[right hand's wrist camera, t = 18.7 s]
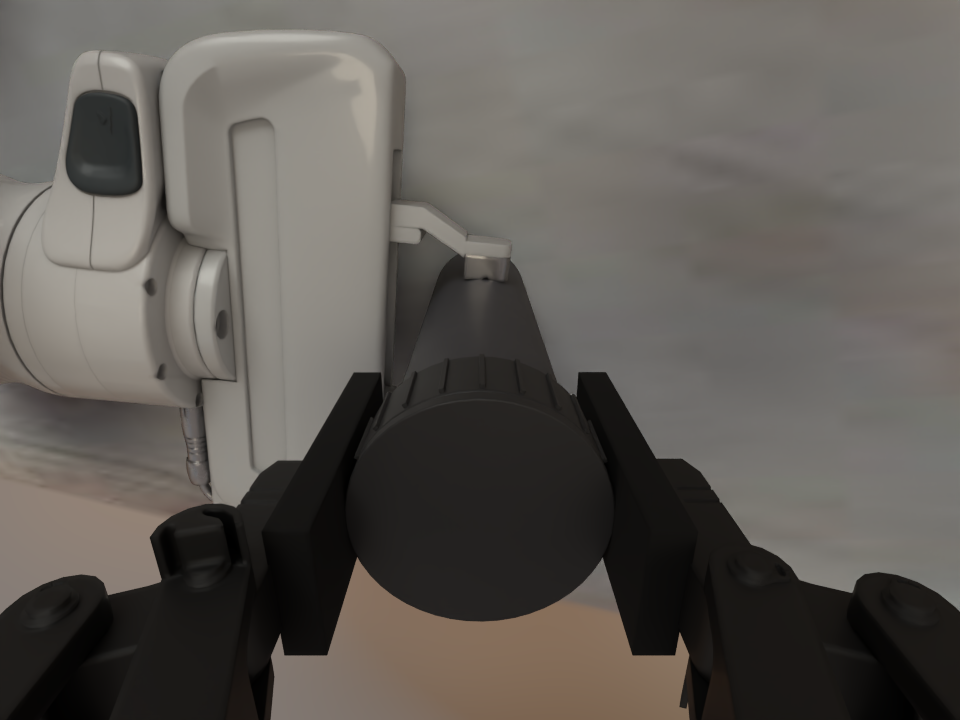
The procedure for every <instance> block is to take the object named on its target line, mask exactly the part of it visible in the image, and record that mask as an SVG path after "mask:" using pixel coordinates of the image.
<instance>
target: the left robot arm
mask: <svg viewBox="0 0 960 720" xmlns="http://www.w3.org/2000/svg"><path fill="white" fill-rule="evenodd" d="M405 93H406V78H405V74H404V72H403V70H402V69H401V68H400V66H399V65H398V63H397V62H396V60H395V59H394V58H393V56H392V55H391V54H390V53H389V52H388V50H386V49H385V48H384V47H383V46H382V45H381V44H380V43H379V42H378V41H376V40H374V39H373V38H370V37H368V36H365V35H360V34H355V33H347V32H339V31H322V30H296V29H278V30H250V31H235V32H224V33H216V34H211V35H207V36H203V37H200V38H197V39H194V40H192V41H190V42H188V43H187V44H185V45H184V46H182V47H181V48H180V49H178V50H177V51H176V52H175V53H174V54H173V56H172V57H171V58H170V60H166V59H162V58H158V57H154V56H149V55H143V54H137V53H130V52H121V51H102V50H93V51H87V52H84V53H82V54H81V55H80V56H79V57H78V58H77V59H76V61H75V63H74V65H73V68H72V72H71V76H70V82H69V88H68V96H67V104H66V112H65V119H64V126H63V133H62V139H61V145H60V151H59V156H58V161H57V167H56V172H55V176H54V180H53V181H50V182H43V183H33V184H31V183H23V182H19V181H16V180H14V179H11V178H9V177H7V176H4V175H2V174H0V385H1V384H6V383H14V382H17V383H23V384H26V385H29V386H31V387H34V388H36V389H39V390H41V391H44V392H47V393H50V394H54V395H59V396H65V397H71V398H85V399H95V400H106V401H117V402H128V403H137V404H148V405H159V406H170V407H179V408H180V416H181V425H182V430H183V435H184V438H185V442H186V445H187V453H188V457H187V460H186V466H187V473H188V476H189V479H190V481H191V483H192V484H194V485H199V486H200V489H201V490H202V492H203V493H204V495H205V496H206V497H207V498H208V499H209V500H210V501H212V502H213V504H220V503H222V504H226V505H230V506H234V507H235V508H236V507H237V506H238V504H241V500H242V498H243V497H244V495H245V494H246V493H247V492H249V488H250V487H251V485H252V484H253V482H254V481H255V480H256V478H257V477H258V475H259V474H260V473H261V472H262V471H264V470H265V469H267V468H268V467H269V466H271V465H272V464H274V463H275V462H276V461H278V460H303V459H304V457H305V455H306V454H307V452H308V450H309V448H310V447H311V445H312V443H313V442H314V440H315V438H316V436H317V435H318V433H319V431H320V430H321V428H322V426H323V424H324V423H325V421H326V419H327V417H328V416H329V414H330V412H331V411H332V409H333V407H334V405H335V404H336V402H337V400H338V399H339V397H340V395H341V393H342V392H343V390H344V388H345V386H346V385H347V383H348V381H349V380H350V378H351V376H352V374H353V373H354V372H381V378H382V391H383V401H384V398H385V396H386V394H387V392H388V391H389V392H391V393H392V392H393V391H394V390H395V389H396V388H397V387H395V386H392V379H393V358H394V336H395V314H396V292H397V270H398V248H399V243H409V244H418V243H419V242H420V241H421V240H422V239H423V237H424V236H425V234H426V232H427V233H429V234H430V235H432V236H433V237H435V238H436V239H438V240H439V241H440V242H442V243H443V244H445V245H446V246H448V247H449V248H451V249H452V250H453V251H455V252H456V253H458V254H459V255H461V256H462V257H464V256H465V264H464V278H465V279H474V280H481V279H483V278H485V277H487V278H488V279H489V280H491V281H495V282H505V281H507V279H508V272H509V265H510V258H511V250H512V243H511V241H510V240H507V239H503V238H495V237H485V236H476V235H467V231H466V230H465V229H463V228H462V227H461V226H459V225H458V224H457V223H455V222H454V221H453V220H451V219H450V218H449V217H447V216H446V215H444V214H443V213H442V212H440V211H439V210H438V209H436V208H435V207H434V206H432V205H431V204H430V203H428V202H419V201H409V200H401V182H402V160H403V138H404V116H405ZM210 482H211V487H210V485H209V483H210Z"/></svg>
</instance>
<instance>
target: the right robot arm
mask: <svg viewBox="0 0 960 720" xmlns="http://www.w3.org/2000/svg"><path fill="white" fill-rule="evenodd" d="M577 400H578V403H579V405H580V408H581V410H582V412H583V414H584V416H585V418H586V420H587V421H589V420H591V423H592V425H593V427H594V430H595V432H596V435H597V437H598V439H599V442H600V444H601V446H602V449H603V451H604V454H605V456H606V458H607V461H608V462H605V463H604V464H605V467H606V469H607V472H608V474H609V477H610V480H611V483H612V487H613V491H614V498H615V513H614V522H613V531H612V535H611V538H610V541H609V544H608V547H607V549H606V551H605V553H604V555H603V560H604V563H605V566H606V570H607V573H608V576H609V580H610V583H611V586H612V589H613V593H614V596H615V599H616V602H617V606H618V609H619V612H620V616H621V619H622V622H623V625H624V629H625V632H626V635H627V638H628V642H629V645H630V648H631V652H632V655H675V653H676V648H677V642H678V637H679V632H680V633H681V636H682V638H683V641H684V643H685V645H686V648H687V650H688V653H689V660H688V665H687V670H686V675H685V680H684V685H683V690H682V695H681V701H680V707H682V708H687V703H688V706H689V718H690V720H960V612H959V611H958V610H957V609H956V608H955V607H954V606H953V605H952V604H951V603H949V602H948V601H947V600H946V599H944V598H943V597H942V596H941V595H939V594H938V593H936V592H935V591H933V590H931V589H929V588H927V587H925V586H924V585H922V584H920V583H918V582H915V581H913V580H910V579H907V578H904V577H901V576H898V575H893V574H887V573H880V572H877V573H870V574H864V575H863V576H862V577H861V578H859V579H858V580H857V581H856V584H855V587H854V590H853V593H849V592H845V591H840V590H836V589H832V588H827V587H823V586H819V585H814V584H810V583H807V582H804V581H800V580H799V579H798V578H797V576H796V574H795V573H794V571H793V570H792V568H791V567H790V566H789V565H788V564H786V563H785V562H784V561H783V560H782V559H781V558H779V557H778V556H776V555H774V554H773V553H771V552H769V551H767V550H765V549H763V548H760V547H757V546H753V545H751V544H750V543H749V541H748V540H747V538H746V537H745V535H744V534H743V533H742V531H741V530H740V528H739V527H738V525H737V524H736V523H735V521H734V520H733V518H732V517H731V515H730V514H729V512H728V511H727V510H726V508H725V507H724V505H723V504H722V503H720V502H719V498H718V497H717V495H716V494H715V492H714V491H713V490H711V487H710V485H709V484H708V482H707V481H706V479H705V478H704V477H703V475H702V474H701V472H700V471H698V470H697V469H696V468H694V467H693V466H691V465H690V464H689V463H687V462H686V461H684V460H683V459H656V458H655V456H654V454H653V453H652V451H651V449H650V447H649V446H648V444H647V442H646V440H645V439H644V437H643V435H642V434H641V432H640V430H639V428H638V427H637V425H636V423H635V422H634V420H633V418H632V416H631V415H630V413H629V411H628V409H627V408H626V406H625V404H624V403H623V401H622V399H621V397H620V396H619V394H618V392H617V391H616V389H615V387H614V385H613V384H612V382H611V380H610V378H609V377H608V375H607V373H606V372H579V373H578V386H577ZM382 403H383V391H382V378H381V372H354V373H353V374H352V376H351V378H350V380H349V381H348V383H347V385H346V386H345V388H344V390H343V392H342V393H341V395H340V397H339V399H338V400H337V402H336V404H335V405H334V407H333V409H332V411H331V412H330V414H329V416H328V417H327V419H326V421H325V423H324V424H323V426H322V428H321V430H320V431H319V433H318V435H317V436H316V438H315V440H314V442H313V443H312V445H311V447H310V448H309V450H308V452H307V454H306V455H305V457H304V459H303V460H278V461H276V462H275V463H274V464H272V465H271V466H269V467H268V468H267V469H265V470H264V471H262V472H261V473H260V474H259V475H258V477H257V478H256V480H255V481H254V482H253V484H252V485H251V487H250V488H249V492H247V493H246V494H245V495H244V497H243V498H242V500H241V504H238V506H237V507H236V508H235V507H234V506H230V505H226V504H222V503H220V504H205V505H201V506H197V507H193V508H189V509H186V510H184V511H182V512H180V513H178V514H176V515H173V516H171V517H170V518H169V519H167V520H166V521H165V522H163V523H162V524H161V525H159V526H158V527H157V528H156V530H155V531H154V532H153V534H152V535H151V536H150V540H151V544H152V547H153V550H154V554H155V557H156V561H157V564H158V568H159V571H160V575H161V578H162V580H161V582H160V583H157V584H153V585H150V586H146V587H142V588H138V589H134V590H129V591H125V592H120V593H116V594H112V595H108V594H107V591H106V588H105V586H104V583H103V582H102V581H101V580H99V579H98V578H97V577H96V576H89V575H75V576H68V577H63V578H60V579H57V580H54V581H51V582H48V583H46V584H43V585H41V586H39V587H37V588H35V589H34V590H32V591H30V592H28V593H26V594H25V595H23V596H21V597H20V598H19V599H18V600H17V601H15V602H14V603H13V604H12V605H10V606H9V607H8V608H7V609H5V610H4V611H3V612H2V613H1V614H0V720H270V719H271V708H272V697H273V685H274V671H273V665H272V660H271V654H272V652H273V650H274V647H275V645H276V642H277V640H278V638H279V635H280V634H281V639H282V644H283V649H284V655H327V654H328V651H329V647H330V644H331V641H332V637H333V634H334V631H335V628H336V624H337V621H338V618H339V615H340V611H341V608H342V605H343V601H344V598H345V595H346V592H347V588H348V585H349V582H350V578H351V575H352V572H353V569H354V565H355V562H356V559H357V555H356V553H355V552H354V549H353V547H352V544H351V542H350V539H349V536H348V532H347V525H346V516H345V498H346V491H347V487H348V483H349V480H350V477H351V474H352V472H353V469H354V467H355V464H356V462H357V460H356V459H354V456H355V454H356V451H357V449H358V446H359V444H360V442H361V439H362V437H363V434H364V432H365V430H366V427H367V425H368V422H369V420H370V418H371V417H372V418H375V416H376V413H377V412H378V410H379V409H380V407H381V405H382Z"/></svg>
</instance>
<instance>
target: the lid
mask: <svg viewBox="0 0 960 720" xmlns="http://www.w3.org/2000/svg"><path fill="white" fill-rule="evenodd" d="M354 459H356V460H357V462H356V464H355V467H354V469H353V472H352V474H351V477H350V480H349V483H348V487H347V491H346V498H345V516H346V525H347V532H348V536H349V539H350V542H351V544H352V547H353V549H354V552H355V553H356V555H357V557H358V559H359V560H360V562H361V564H362V565H363V566H364V568H365V569H366V570H367V572H368V573H369V574H370V575H371V577H372V578H373V579H374V580H375V581H376V582H377V583H378V584H379V585H380V586H382V587H383V588H384V589H385V590H387V591H388V592H389V593H391V594H392V595H393V596H395V597H396V598H398V599H400V600H401V601H403V602H405V603H406V604H408V605H411V606H413V607H415V608H417V609H419V610H422V611H424V612H427V613H430V614H433V615H436V616H441V617H445V618H449V619H456V620H463V621H497V620H504V619H510V618H516V617H519V616H523V615H527V614H530V613H533V612H535V611H538V610H541V609H543V608H545V607H547V606H549V605H551V604H553V603H555V602H557V601H559V600H560V599H562V598H563V597H565V596H566V595H568V594H569V593H571V592H572V591H573V590H575V589H576V588H577V587H578V586H579V585H580V584H582V583H583V582H584V581H585V580H586V578H587V577H588V576H589V575H590V574H591V573H592V572H593V571H594V569H595V568H596V566H597V565H598V563H599V562H600V561H601V559H602V557H603V555H604V553H605V551H606V549H607V547H608V544H609V541H610V538H611V535H612V531H613V522H614V513H615V498H614V491H613V487H612V483H611V480H610V477H609V474H608V472H607V469H606V467H605V464H604V463H605V462H608V461H607V458H606V456H605V454H604V451H603V449H602V446H601V444H600V442H599V439H598V437H597V435H596V432H595V430H594V427H593V425H592V423H591V420H589V421H587V420H586V418H585V416H584V414H583V412H582V410H581V408H580V405H579V403H578V400H577V398H576V396H575V395H574V394H572V395H570V394H569V393H568V392H567V391H566V390H565V389H564V388H563V387H562V386H561V385H560V384H558V383H557V382H556V381H555V380H553V378H552V375H551V374H549V373H547V374H544V373H542V372H541V371H539V370H537V369H535V368H532V367H530V366H528V365H526V364H523V363H520V360H518V359H515V361H512V360H509V359H503V358H497V357H484V354H479V356H475V357H462V358H457V359H452V360H449V358H445V359H444V360H443V362H441V363H438V364H435V365H432V366H430V367H427V368H425V369H423V370H421V371H419V372H416V371H414V372H412V373H411V376H410V378H408V379H407V380H405V381H404V382H403V383H402V384H400V385H399V386H398V387H397V388H396V389H395V390H394V391H393V392H392V393H391V392H389V391H388V392H387V394H386V396H385V398H384V401H383V403H382V405H381V407H380V409H379V410H378V412H377V413H376V416H375V418H372V417H371V418H370V420H369V422H368V425H367V427H366V430H365V432H364V434H363V437H362V439H361V442H360V444H359V446H358V449H357V451H356V454H355V456H354Z"/></svg>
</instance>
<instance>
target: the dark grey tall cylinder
mask: <svg viewBox="0 0 960 720" xmlns="http://www.w3.org/2000/svg"><path fill="white" fill-rule="evenodd" d="M464 264H465V256H464V257H462V256H461V255H459V254H458V255H456V256H455V257H453V258H452V259H451V260H450V261H449V262H448V263H447V264H446V265H445V266H444V268H443V269H442V271H441V273H440V275H439V277H438V280H437V283H436V286H435V289H434V292H433V295H432V298H431V301H430V304H429V307H428V309H427V312H426V315H425V318H424V321H423V324H422V327H421V330H420V333H419V336H418V339H417V342H416V345H415V348H414V351H413V354H412V357H411V360H410V362H409V365H408V368H407V371H406V374H405V377H404V380H403V382H404V381H405V380H407V379H408V378H410V376H411V373H412V372H414V371H416V372H419V371H421V370H423V369H425V368H427V367H430V366H432V365H435V364H438V363H441V362H443V360H444V359H445V358H449V360H452V359H457V358H462V357H475V356H479V354H484V357H497V358H503V359H509V360H512V361H515V359H518V360H520V363H523V364H526V365H528V366H530V367H532V368H535V369H537V370H539V371H541V372H542V373H544V374H547V373H549V374H551V375H552V378H553V380H555V381H556V378H555V375H554V372H553V369H552V366H551V363H550V360H549V357H548V354H547V351H546V348H545V345H544V343H543V340H542V337H541V334H540V331H539V328H538V325H537V322H536V319H535V316H534V313H533V310H532V307H531V304H530V301H529V298H528V296H527V293H526V290H525V287H524V284H523V281H522V278H521V275H520V273H519V271H518V269H517V268H516V267H515V265H514V264H513V263H512V262H511V261H510V265H509V272H508V279H507V281H505V282H495V281H491V280H489V279H488V278H487V277H485V278H483V279H481V280H474V279H465V278H464ZM556 382H557V381H556Z"/></svg>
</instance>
